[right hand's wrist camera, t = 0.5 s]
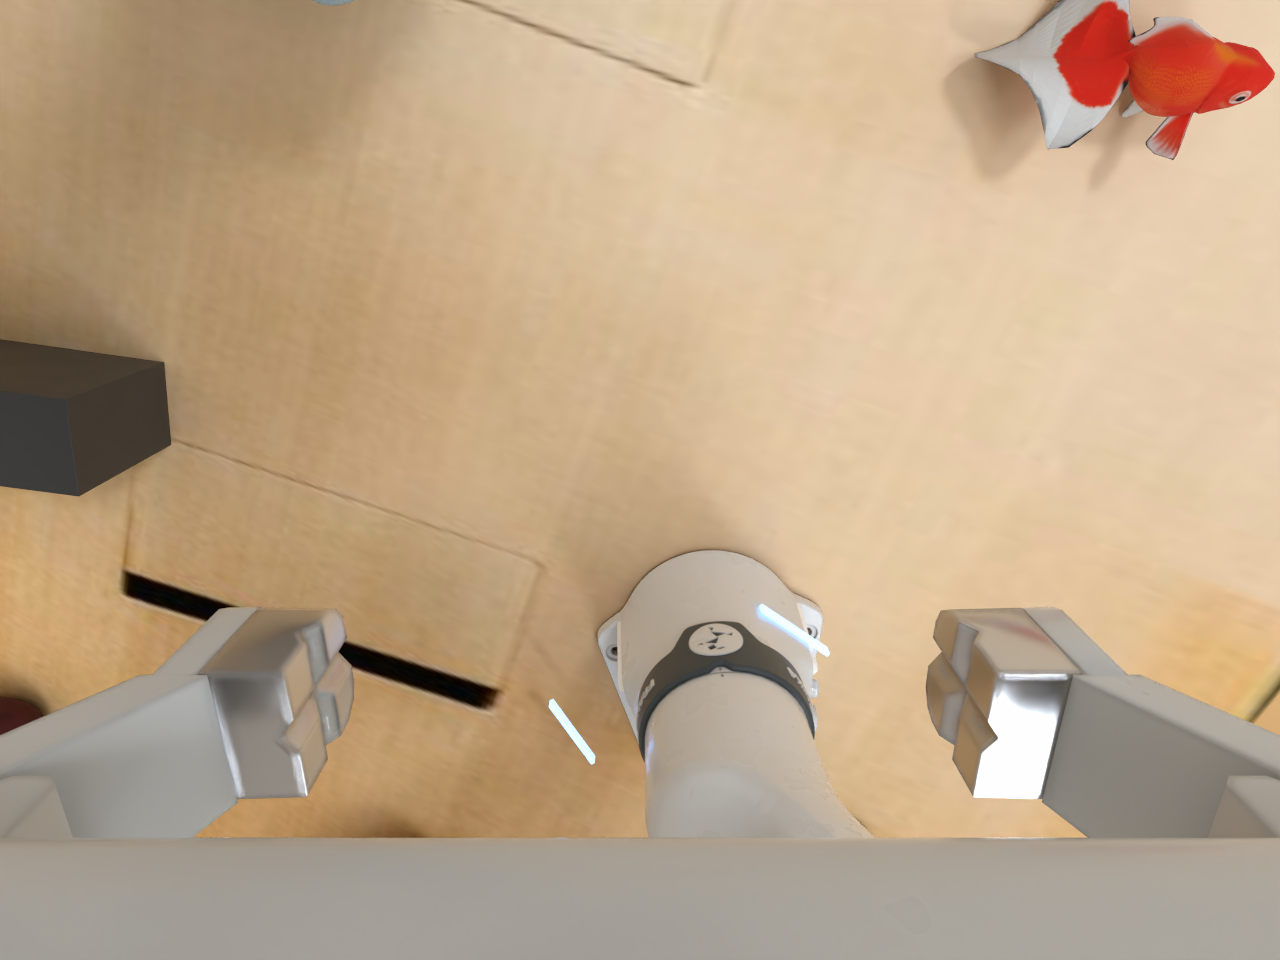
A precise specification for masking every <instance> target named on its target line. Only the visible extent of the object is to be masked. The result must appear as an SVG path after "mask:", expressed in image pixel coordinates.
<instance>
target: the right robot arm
mask: <svg viewBox="0 0 1280 960" xmlns="http://www.w3.org/2000/svg"><path fill="white" fill-rule="evenodd" d="M822 625H823V616H822V612H821V609H820V608H819V607H818V606H817V605H816V604H815V603H813V602H811V601H810V600H808V599H806V598H803V597H801V596H799V595H797V594H794V593H793V592H791V591H790V590H789V589H788V588H787V587H786V586H785V585H784V584H783V582H782V581H781V580H780V579H779V578H778V577H777V576H776V575H775V574H774V573H773V572H772V571H771V570H770V569H768V568H767V567H766V566H764V565H763V564H761V563H760V562H758V561H756V560H754V559H752V558H750V557H747V556H744V555H741V554H738V553H734V552H729V551H722V550H703V551H695V552H690V553H686V554H683V555H680V556H677V557H674V558H672V559H670V560H668V561H666V562H664V563H662V564H661V565H659V566H657V567H656V568H655V569H653V570H652V571H651V572H649V573H648V574H647V575H646V576H645V577H644V578H643V579H642V580H641V581H640V583H639V584H638V585H637V586H636V588H635V589H634V591H633V593H632V594H631V596H630V598H629V600H628V601H627V603H626V605H625V606H624V607H623V609H622V610H621V611H620V612H618V613H617V614H615V615H614V616H613V617H611V618H610V619H609V620H607V621H606V622H605V623H604V624H603V625H602V626H601V627H600V628H599V630H598V633H597V636H598V644H599V647H600V649H601V652H602V654H603V657H604V659H605V662H606V664H607V667H608V669H609V672H610V674H611V677H612V679H613V682H614V684H615V687H616V689H617V692H618V694H619V697H620V699H621V702H622V704H623V707H624V709H625V712H626V714H627V717H628V719H629V722H630V724H631V727H632V729H633V732H634V734H635V737H636V739H637V742H638V744H639V747H640V751H641V755H642V758H643V760H644V762H645V821H646V829H647V833H648V836H649V838H192V837H194V836H195V835H196V834H197V833H199V832H200V831H201V830H203V829H204V828H205V827H207V826H208V825H209V824H210V823H212V822H213V821H214V820H216V819H217V818H218V817H219V816H221V815H222V814H223V813H225V812H226V811H227V810H229V809H230V808H231V807H232V806H234V805H235V804H236V803H237V802H238V801H237V799H256V798H292V797H307V796H308V794H309V792H310V790H311V788H312V787H313V785H314V783H315V781H316V779H317V778H318V776H319V774H320V772H321V770H322V769H323V767H324V765H325V763H326V761H327V760H328V758H327V752H326V746H325V745H327V744H328V743H330V742H331V741H333V740H334V739H336V738H337V737H339V736H341V734H342V732H343V730H344V728H345V726H346V724H347V722H348V721H349V717H350V713H351V708H352V704H353V700H354V679H353V672H352V666H351V665H350V664H349V663H348V662H347V661H346V659H345V658H344V657H343V656H342V655H341V654H340V653H339V652H338V651H339V649H340V648H341V646H342V645H343V643H344V642H345V640H346V638H347V635H346V630H345V625H344V620H343V616H342V615H341V614H340V613H339V612H338V611H337V609H307V608H261V607H238V608H224V609H219V610H218V611H217V612H216V613H215V614H214V615H213V616H212V617H211V618H210V619H209V620H208V621H207V622H206V623H205V624H204V625H203V626H202V627H201V628H199V629H198V630H197V631H196V632H195V633H194V634H193V635H192V636H191V637H190V638H189V639H188V640H187V641H186V642H185V643H184V644H183V645H182V646H181V647H180V648H179V649H178V650H177V651H176V652H175V653H174V654H173V655H172V656H171V657H170V658H169V659H168V660H167V661H166V662H165V663H164V664H163V665H162V666H161V667H160V668H159V669H158V670H157V671H156V672H155V673H154V674H153V675H138V676H136V677H134V678H132V679H129V680H127V681H125V682H122V683H120V684H118V685H115V686H113V687H111V688H108V689H106V690H104V691H101V692H99V693H97V694H94V695H92V696H90V697H88V698H85V699H83V700H81V701H78V702H76V703H74V704H71V705H69V706H67V707H64V708H62V709H60V710H57V711H55V712H53V713H51V714H48V715H46V716H44V717H41V718H39V719H37V720H34V721H32V722H30V723H27V724H25V725H23V726H20V727H18V728H16V729H14V730H11V731H9V732H7V733H4V734H2V735H0V960H1280V735H1278V734H1275V733H1273V732H1271V731H1268V730H1266V729H1264V728H1262V727H1259V726H1257V725H1255V724H1252V723H1250V722H1248V721H1245V720H1243V719H1241V718H1238V717H1236V716H1234V715H1232V714H1229V713H1227V712H1225V711H1222V710H1220V709H1218V708H1215V707H1213V706H1211V705H1208V704H1206V703H1204V702H1202V701H1199V700H1197V699H1195V698H1192V697H1190V696H1188V695H1185V694H1183V693H1181V692H1178V691H1176V690H1174V689H1172V688H1169V687H1167V686H1165V685H1162V684H1160V683H1158V682H1155V681H1153V680H1151V679H1148V678H1146V677H1144V676H1142V675H1128V674H1126V673H1125V672H1124V671H1123V670H1122V669H1121V668H1120V667H1119V666H1118V665H1117V664H1116V663H1115V662H1114V661H1113V660H1112V659H1111V658H1110V657H1109V656H1108V655H1107V654H1106V653H1105V652H1104V651H1103V650H1102V649H1101V648H1100V647H1099V646H1098V645H1097V644H1096V643H1095V642H1094V641H1093V640H1092V639H1091V638H1090V637H1089V636H1088V635H1087V634H1086V633H1085V632H1084V631H1083V630H1082V629H1081V628H1080V627H1079V626H1078V625H1077V624H1076V623H1075V622H1074V621H1073V620H1072V619H1071V618H1069V617H1068V616H1067V615H1066V614H1065V613H1064V612H1063V611H1062V610H1060V609H1057V608H1054V607H1035V608H997V609H957V610H942V611H940V613H939V616H938V618H937V620H936V623H935V629H934V635H933V638H934V640H935V642H936V643H937V645H938V646H939V648H940V649H941V651H942V652H941V653H940V654H939V655H938V656H937V657H936V658H935V659H934V661H933V662H932V663H931V664H930V665H929V666H928V673H927V681H926V695H927V706H928V710H929V713H930V717H931V720H932V723H933V725H934V726H935V728H936V730H937V732H938V734H939V736H941V737H943V738H944V739H946V740H947V741H949V742H950V743H952V744H953V745H955V746H954V752H953V758H952V760H953V761H954V763H955V765H956V767H957V769H958V770H959V772H960V774H961V776H962V778H963V779H964V781H965V783H966V785H967V786H968V788H969V790H970V792H971V794H972V795H973V797H986V798H1023V799H1043V800H1042V802H1043V803H1044V804H1045V805H1047V806H1048V807H1049V808H1050V809H1052V810H1053V811H1054V812H1056V813H1057V814H1058V815H1059V816H1061V817H1062V818H1063V819H1065V820H1066V821H1067V822H1069V823H1070V824H1071V825H1072V826H1074V827H1075V828H1076V829H1078V830H1079V831H1080V832H1081V833H1083V834H1084V835H1085V836H1087V837H1088V838H876V837H874V836H873V835H872V834H871V833H870V832H869V831H868V830H867V829H866V828H865V827H863V826H862V825H861V824H860V823H859V822H858V821H857V820H856V819H855V818H854V816H853V815H852V814H851V813H850V812H849V811H848V810H847V809H846V807H845V806H844V805H843V803H842V802H841V801H840V799H839V798H838V796H837V794H836V792H835V790H834V788H833V786H832V784H831V782H830V780H829V777H828V775H827V773H826V770H825V768H824V766H823V763H822V761H821V758H820V756H819V753H818V750H817V748H816V745H815V742H814V734H815V732H816V729H817V712H816V708H815V706H814V705H812V704H811V702H810V699H809V698H816V697H818V692H819V687H818V682H817V680H813V674H815V673H817V671H818V668H817V661H816V656H817V651H820V652H821V653H823V654H824V655H826V656H828V655H829V654H830V653H829V651H828V648H827V647H826V646H825V645H823V644H822V643H820V642H819V640H820V635H821V630H822ZM807 628H810V629H809V630H807ZM613 647H617V648H618V650H617V651H615V650H613V649H612V648H613ZM549 708H550V709H551V711H552V712H553V713H554V715H555V716H556V717H557V719H558V720H559V721H560V723H561V724H562V725H563V727H564V728H565V730H566V731H567V732H568V734H569V735H570V736H571V738H572V739H573V740H574V742H575V743H576V744H577V746H578V747H579V748H580V750H581V751H582V752H583V754H584V755H585V757H586V758H587V759H588V761H589V762H590V763H591V764H593V763H595V755H594V754H593V753H592V751H591V750H590V748H589V747H588V746H587V744H586V743H585V742H584V740H583V739H582V738H581V736H580V735H579V733H578V732H577V731H576V729H575V728H574V727H573V725H572V724H571V723H570V721H569V720H568V718H567V717H566V716H565V714H564V713H563V712H562V710H561V709H560V708H559V706H558V705H557V703H556V702H555V701H554V699H552V700H550V703H549Z"/></svg>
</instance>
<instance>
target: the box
mask: <svg viewBox="0 0 1280 960" xmlns="http://www.w3.org/2000/svg"><path fill="white" fill-rule="evenodd" d="M169 445H171V439H170V428H169V416H168V404H167V393H166V381H165V369H164V363H163V362H157V361H150V360H142V359H135V358H128V357H121V356H114V355H107V354H100V353H92V352H85V351H78V350H71V349H64V348H57V347H50V346H42V345H35V344H28V343H21V342H14V341H7V340H0V486H4V487H11V488H19V489H27V490H35V491H42V492H50V493H58V494H65V495H73V496H80V495H82V494H84V493H86V492H88V491H89V490H91V489H93V488H95V487H96V486H98V485H100V484H102V483H104V482H105V481H107V480H109V479H111V478H112V477H114V476H116V475H118V474H120V473H121V472H123V471H125V470H127V469H128V468H130V467H132V466H134V465H136V464H137V463H139V462H141V461H143V460H145V459H146V458H148V457H150V456H152V455H153V454H155V453H157V452H159V451H161V450H162V449H164V448H166V447H168V446H169Z"/></svg>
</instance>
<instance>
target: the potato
mask: <svg viewBox="0 0 1280 960" xmlns="http://www.w3.org/2000/svg"><path fill="white" fill-rule="evenodd" d="M41 717H44V716H43V715H42V714H41V712H40V711H39V710H38V709H36V708H35V707H34V706H32V705H30V704H28V703H26V702H24V701H20V700H17V699H13V698H6V697H0V735H2V734H4V733H7V732H9V731H11V730H14V729H16V728H18V727H20V726H23V725H25V724H27V723H30V722H32V721H34V720H37V719H39V718H41Z"/></svg>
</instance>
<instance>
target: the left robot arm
mask: <svg viewBox="0 0 1280 960" xmlns="http://www.w3.org/2000/svg"><path fill="white" fill-rule="evenodd" d="M313 1H315V2H317V3H319V4H323V5H329V6H334V5H342V4H346V3H349V2H351V1H353V0H313Z"/></svg>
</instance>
